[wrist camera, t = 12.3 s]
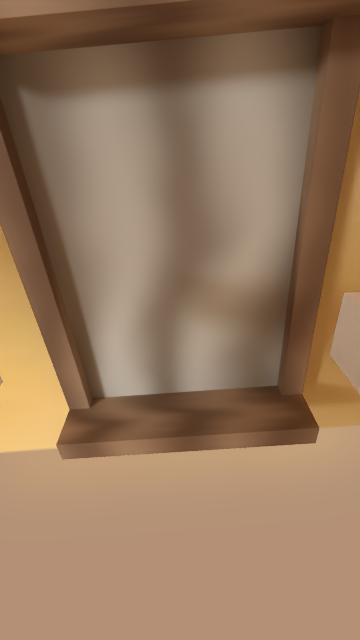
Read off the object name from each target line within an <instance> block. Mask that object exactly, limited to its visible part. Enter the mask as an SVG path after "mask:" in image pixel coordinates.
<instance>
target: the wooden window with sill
mask: <svg viewBox="0 0 360 640" xmlns="http://www.w3.org/2000/svg"><path fill="white" fill-rule="evenodd" d="M359 87H360V0H0V224H1V227H2V229H3V232H4V235H5V237H6V240H7V243H8V245H9V248H10V251H11V253H12V256H13V259H14V261H15V264H16V267H17V269H18V272H19V275H20V278H21V280H22V283H23V286H24V288H25V291H26V294H27V296H28V299H29V302H30V304H31V307H32V310H33V312H34V315H35V318H36V320H37V323H38V326H39V328H40V331H41V334H42V337H43V339H44V342H45V345H46V347H47V350H48V353H49V355H50V358H51V361H52V363H53V366H54V369H55V371H56V374H57V377H58V379H59V382H60V385H61V387H62V390H63V393H64V396H65V398H66V401H67V404H68V406H69V409H70V410H69V413H68V415H67V418H66V421H65V423H64V426H63V429H62V431H61V434H60V437H59V439H58V442H57V444H56V446H57V448H58V450H59V452H60V455H61V457H62V459H74V458H89V457H105V456H121V455H136V454H151V453H152V454H153V453H168V452H183V451H199V450H215V449H229V448H246V447H260V446H276V445H293V444H307V443H316V439H317V435H318V431H319V426H318V424H317V422H316V421H315V419H314V417H313V415H312V413H311V411H310V409H309V407H308V405H307V403H306V401H305V399H304V397H303V395H302V391H303V386H304V381H305V375H306V370H307V365H308V359H309V354H310V349H311V343H312V338H313V333H314V327H315V322H316V317H317V311H318V306H319V301H320V295H321V290H322V284H323V279H324V274H325V268H326V263H327V258H328V252H329V247H330V242H331V236H332V231H333V226H334V220H335V215H336V210H337V204H338V199H339V194H340V188H341V183H342V178H343V172H344V167H345V162H346V156H347V151H348V145H349V140H350V135H351V129H352V124H353V119H354V113H355V108H356V103H357V97H358V92H359Z"/></svg>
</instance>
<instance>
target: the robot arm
mask: <svg viewBox="0 0 360 640" xmlns="http://www.w3.org/2000/svg"><path fill="white" fill-rule="evenodd" d="M329 355H330V356H331V357H332V359H333V360H334V361H335V363H336V364H337V365H338V367H339V368H340V369H341V371H342V372H343V373H344V375H345V376H346V377H347V379H348V380H349V381H350V383H351V384H352V385H353V387H354V388H355V389H356V391H357V392H358V393H359V395H360V291H358V292H346V293H344V295H343V299H342V303H341V308H340V312H339V316H338V320H337V325H336V329H335V333H334V337H333V342H332V346H331V350H330V354H329ZM2 382H3V381H2V379H1V377H0V385H1V383H2Z"/></svg>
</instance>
